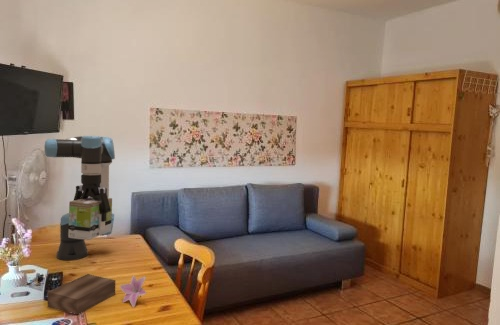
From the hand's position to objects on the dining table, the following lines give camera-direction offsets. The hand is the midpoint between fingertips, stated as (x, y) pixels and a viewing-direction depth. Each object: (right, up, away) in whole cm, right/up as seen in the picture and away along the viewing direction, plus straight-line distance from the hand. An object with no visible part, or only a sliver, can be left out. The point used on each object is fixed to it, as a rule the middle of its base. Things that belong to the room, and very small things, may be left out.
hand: (90, 227), depth 151 cm
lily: (+18, -30, -1) cm, 35 cm away
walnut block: (-2, -29, -3) cm, 29 cm away
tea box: (0, -3, 0) cm, 3 cm away
